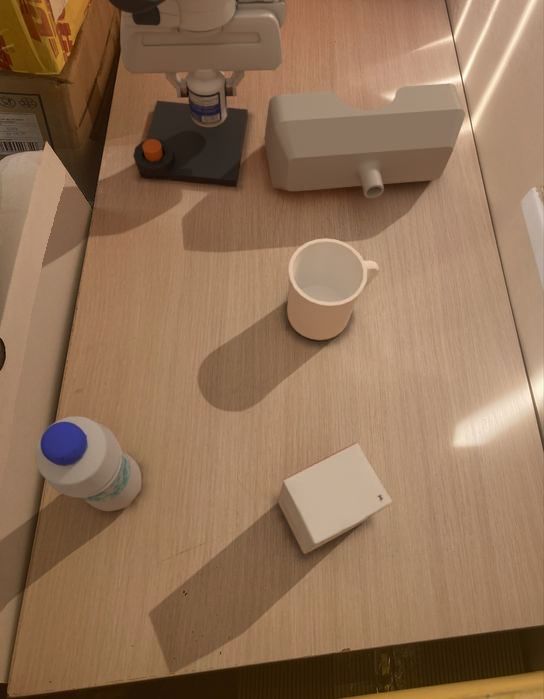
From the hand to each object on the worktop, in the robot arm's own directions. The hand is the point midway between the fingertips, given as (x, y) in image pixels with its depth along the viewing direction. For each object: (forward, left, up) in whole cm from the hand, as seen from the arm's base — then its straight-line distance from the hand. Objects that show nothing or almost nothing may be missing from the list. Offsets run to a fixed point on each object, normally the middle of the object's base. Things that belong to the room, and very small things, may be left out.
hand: (206, 94), depth 74 cm
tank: (+22, -5, -8) cm, 24 cm away
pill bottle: (0, 0, -4) cm, 4 cm away
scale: (-2, -2, -8) cm, 8 cm away
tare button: (-7, -7, -5) cm, 11 cm away
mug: (+19, -28, -8) cm, 35 cm away
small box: (+20, -53, -8) cm, 57 cm away
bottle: (-3, -52, -8) cm, 53 cm away
